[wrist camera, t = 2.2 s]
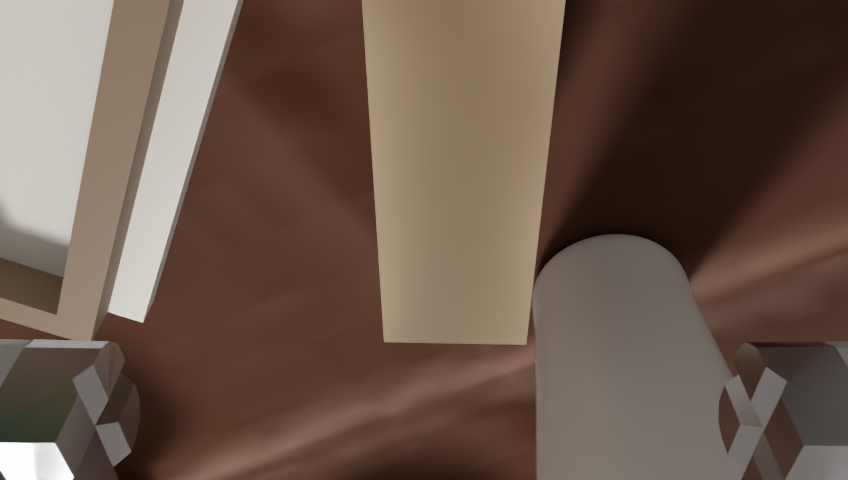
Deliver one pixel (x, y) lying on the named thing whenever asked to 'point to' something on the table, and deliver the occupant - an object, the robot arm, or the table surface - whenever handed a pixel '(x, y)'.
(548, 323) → the drinking glass
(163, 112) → the small wooden cabinet
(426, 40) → the cardboard box
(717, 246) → the table surface
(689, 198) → the table surface
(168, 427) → the table surface
